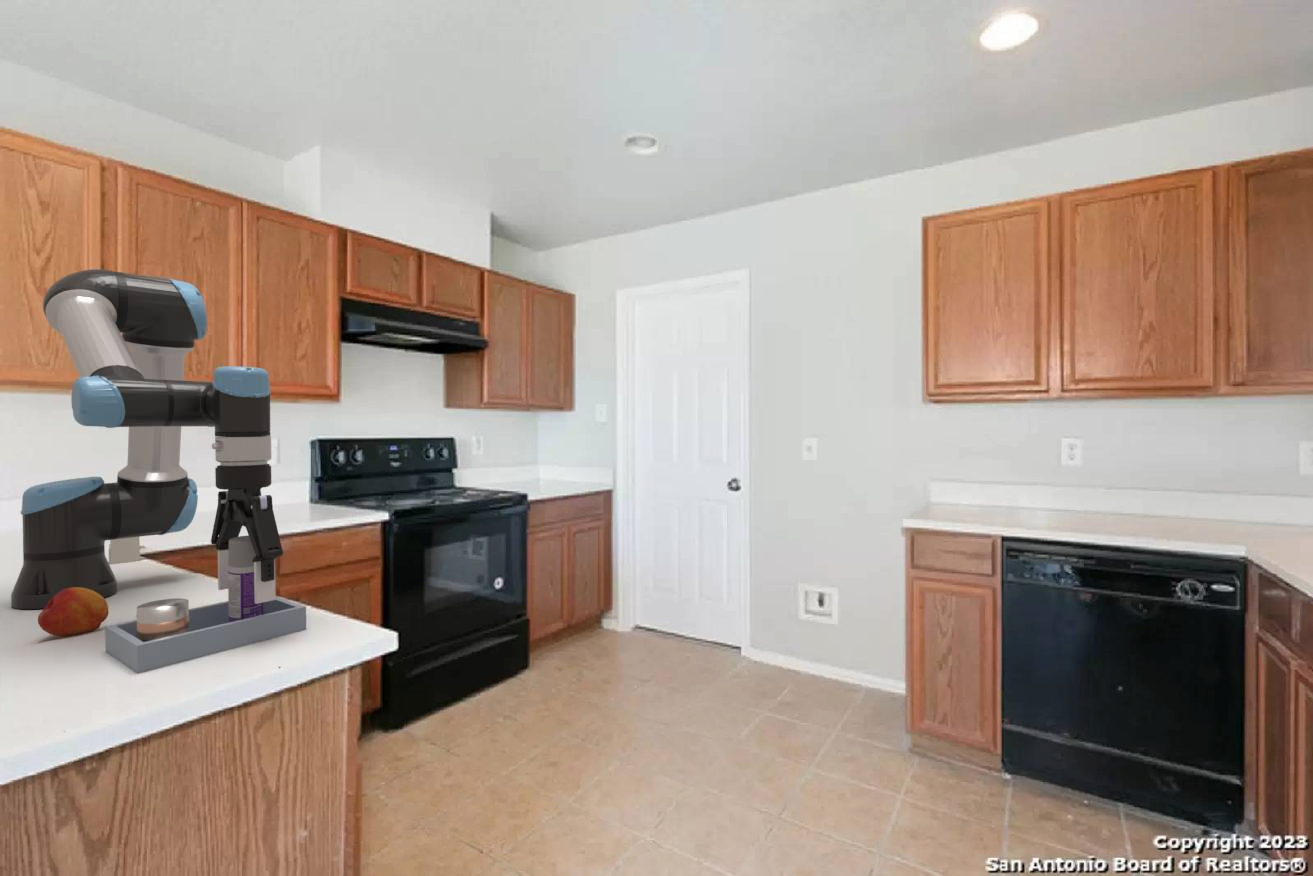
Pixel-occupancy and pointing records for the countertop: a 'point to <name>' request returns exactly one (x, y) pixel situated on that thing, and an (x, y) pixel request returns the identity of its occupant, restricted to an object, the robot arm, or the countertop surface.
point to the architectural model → (124, 550)
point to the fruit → (73, 612)
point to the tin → (162, 619)
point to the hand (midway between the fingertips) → (246, 594)
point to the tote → (203, 634)
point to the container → (241, 580)
